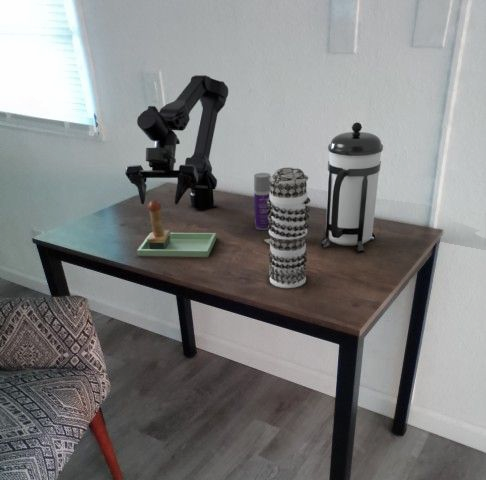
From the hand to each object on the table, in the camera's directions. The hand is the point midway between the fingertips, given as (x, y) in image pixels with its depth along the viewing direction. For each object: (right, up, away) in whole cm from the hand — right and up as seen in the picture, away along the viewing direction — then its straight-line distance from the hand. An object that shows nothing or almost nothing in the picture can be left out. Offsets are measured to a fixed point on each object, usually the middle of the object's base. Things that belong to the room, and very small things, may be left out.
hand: (159, 203), depth 130 cm
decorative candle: (+33, -22, -16) cm, 42 cm away
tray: (+5, -12, +2) cm, 13 cm away
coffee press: (+50, -11, -1) cm, 51 cm away
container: (+28, -4, +12) cm, 31 cm away
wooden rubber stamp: (0, -11, +2) cm, 11 cm away
